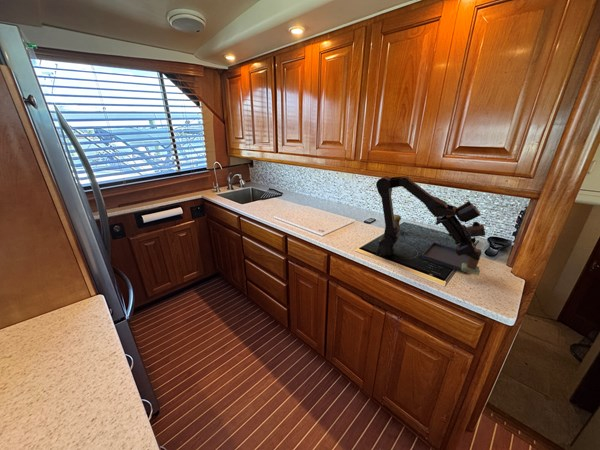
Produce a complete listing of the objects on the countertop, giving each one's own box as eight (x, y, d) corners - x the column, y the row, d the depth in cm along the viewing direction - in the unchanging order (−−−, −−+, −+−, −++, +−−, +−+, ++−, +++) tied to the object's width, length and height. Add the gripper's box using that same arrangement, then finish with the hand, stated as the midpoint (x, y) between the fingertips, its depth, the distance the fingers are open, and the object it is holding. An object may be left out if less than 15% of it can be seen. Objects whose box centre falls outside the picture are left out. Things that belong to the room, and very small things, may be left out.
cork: (390, 229, 149) (393, 212, 145) (400, 231, 146) (403, 215, 141) (387, 232, 145) (389, 215, 140) (397, 235, 141) (400, 218, 137)
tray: (420, 258, 117) (421, 254, 117) (432, 244, 130) (433, 241, 129) (465, 273, 105) (467, 269, 105) (473, 257, 118) (475, 254, 117)
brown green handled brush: (461, 271, 100) (468, 250, 96) (461, 266, 103) (467, 246, 99) (478, 275, 98) (486, 254, 94) (477, 270, 101) (485, 249, 97)
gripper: (475, 225, 86) (502, 260, 85) (474, 211, 100) (498, 241, 99) (445, 239, 93) (470, 271, 92) (448, 224, 108) (470, 252, 106)
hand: (478, 258), depth 97 cm, fingers closed on brown green handled brush, 3 cm apart
